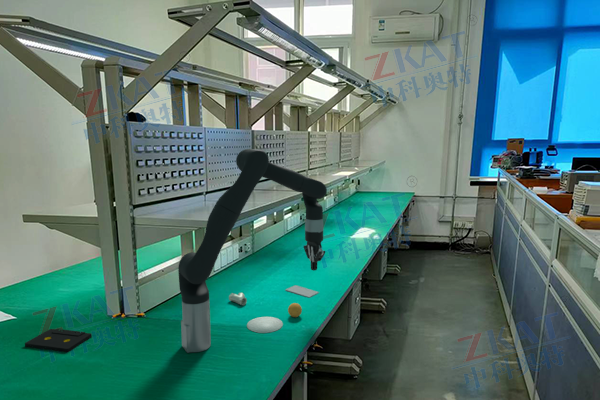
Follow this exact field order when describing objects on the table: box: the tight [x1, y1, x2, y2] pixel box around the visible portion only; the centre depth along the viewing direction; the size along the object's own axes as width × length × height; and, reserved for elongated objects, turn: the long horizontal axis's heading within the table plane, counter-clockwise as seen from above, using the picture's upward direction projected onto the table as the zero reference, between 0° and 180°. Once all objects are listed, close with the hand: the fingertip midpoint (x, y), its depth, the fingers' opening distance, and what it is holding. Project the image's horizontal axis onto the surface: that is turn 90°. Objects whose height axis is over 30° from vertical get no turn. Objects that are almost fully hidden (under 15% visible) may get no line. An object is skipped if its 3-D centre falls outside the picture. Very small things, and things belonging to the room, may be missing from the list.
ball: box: [287, 302, 303, 318], centre depth 168 cm, size 6×6×6 cm
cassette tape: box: [24, 328, 92, 353], centre depth 147 cm, size 18×12×2 cm, turn 77°
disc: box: [246, 316, 284, 334], centre depth 161 cm, size 14×14×1 cm
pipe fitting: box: [228, 292, 248, 306], centre depth 184 cm, size 8×4×7 cm
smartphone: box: [284, 284, 320, 298], centre depth 196 cm, size 8×1×15 cm
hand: (314, 269), depth 171 cm, fingers closed
